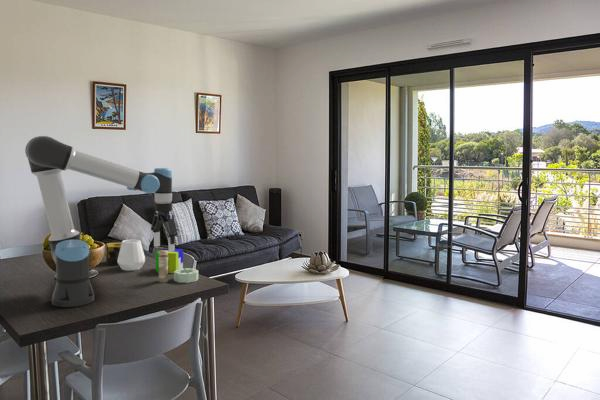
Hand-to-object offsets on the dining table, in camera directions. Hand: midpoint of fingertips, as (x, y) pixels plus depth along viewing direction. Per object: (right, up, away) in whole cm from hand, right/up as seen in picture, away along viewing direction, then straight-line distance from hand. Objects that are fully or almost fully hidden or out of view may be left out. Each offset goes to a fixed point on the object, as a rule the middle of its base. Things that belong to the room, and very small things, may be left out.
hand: (164, 248), depth 217 cm
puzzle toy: (-3, -13, +21) cm, 25 cm away
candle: (-34, -11, +33) cm, 49 cm away
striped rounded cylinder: (-1, -15, +1) cm, 15 cm away
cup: (-23, -12, +23) cm, 35 cm away
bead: (+9, -15, +5) cm, 18 cm away
